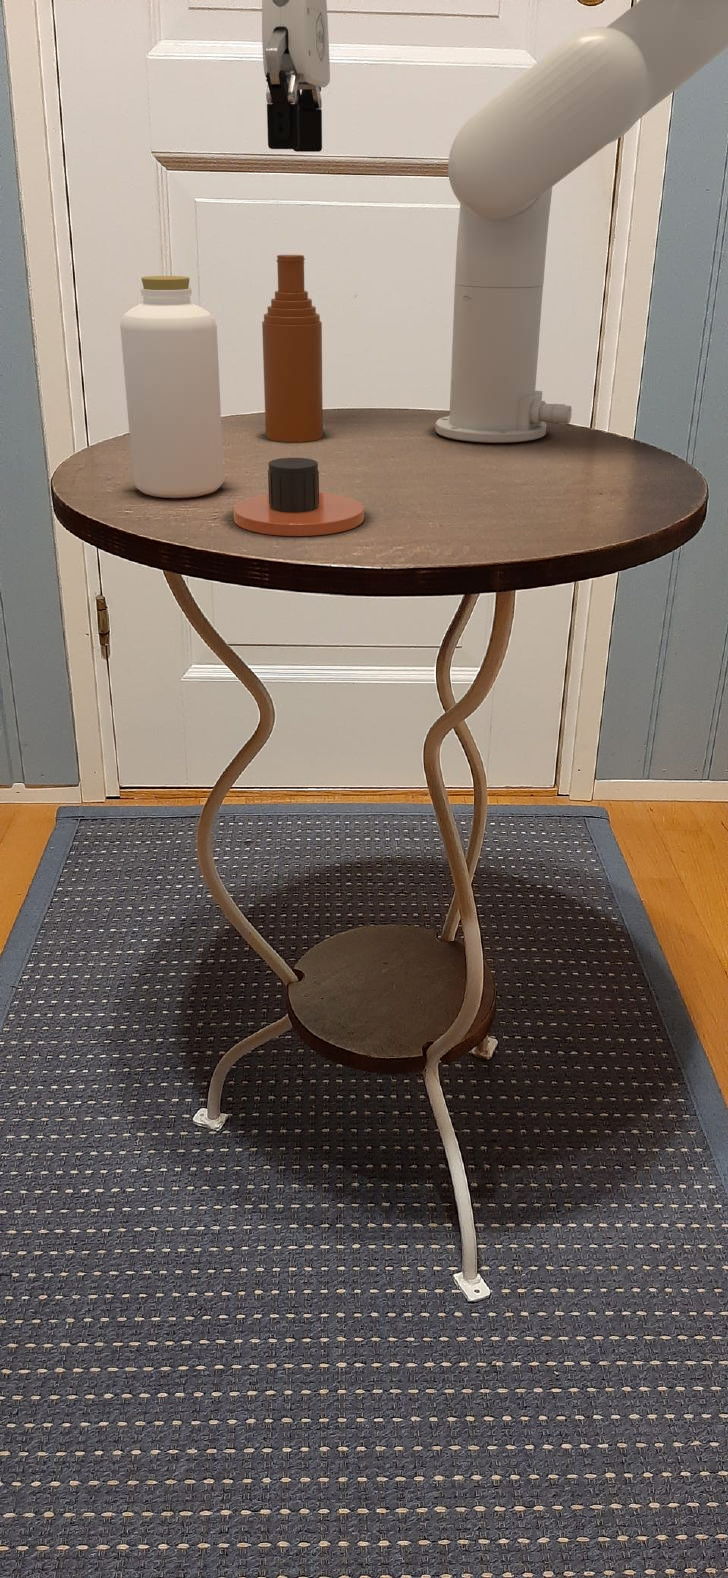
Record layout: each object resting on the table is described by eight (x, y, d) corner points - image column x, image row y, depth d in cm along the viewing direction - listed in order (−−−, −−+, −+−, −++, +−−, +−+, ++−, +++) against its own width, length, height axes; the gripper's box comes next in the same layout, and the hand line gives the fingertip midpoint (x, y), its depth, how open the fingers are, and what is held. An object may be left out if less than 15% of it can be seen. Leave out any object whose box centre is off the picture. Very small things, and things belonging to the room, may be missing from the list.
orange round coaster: (382, 510, 100) (383, 498, 100) (332, 542, 91) (332, 529, 91) (269, 498, 104) (269, 486, 103) (210, 527, 95) (209, 515, 94)
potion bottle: (126, 483, 108) (108, 274, 100) (213, 477, 111) (202, 273, 103) (142, 503, 102) (124, 281, 93) (234, 496, 104) (224, 280, 96)
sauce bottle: (331, 433, 131) (330, 254, 122) (309, 443, 126) (307, 257, 117) (279, 429, 133) (275, 253, 124) (256, 439, 127) (249, 255, 119)
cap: (259, 506, 97) (258, 462, 95) (296, 498, 100) (295, 455, 98) (292, 515, 95) (291, 470, 93) (328, 506, 97) (328, 462, 95)
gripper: (307, -65, 106) (310, 148, 114) (348, -34, 121) (348, 152, 129) (229, -62, 107) (237, 148, 115) (279, -32, 122) (283, 152, 130)
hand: (296, 150), depth 122 cm, fingers open, 9 cm apart
